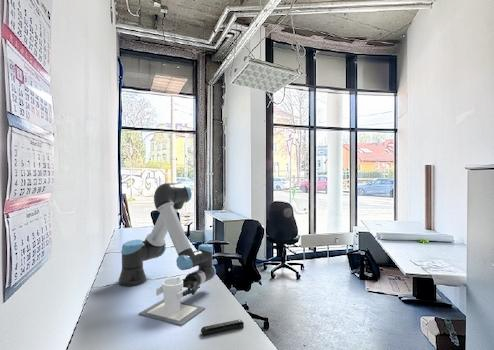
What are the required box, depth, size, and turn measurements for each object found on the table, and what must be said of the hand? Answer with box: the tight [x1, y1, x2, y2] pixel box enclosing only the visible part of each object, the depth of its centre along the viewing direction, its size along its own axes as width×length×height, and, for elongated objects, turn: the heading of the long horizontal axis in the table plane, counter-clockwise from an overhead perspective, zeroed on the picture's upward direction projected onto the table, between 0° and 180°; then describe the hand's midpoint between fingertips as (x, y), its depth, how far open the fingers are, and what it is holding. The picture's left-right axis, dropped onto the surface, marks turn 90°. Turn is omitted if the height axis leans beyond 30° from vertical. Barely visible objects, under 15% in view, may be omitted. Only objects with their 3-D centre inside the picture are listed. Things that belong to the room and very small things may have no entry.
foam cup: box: [161, 277, 184, 313], centre depth 147 cm, size 10×9×13 cm
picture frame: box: [138, 299, 206, 327], centre depth 147 cm, size 24×18×1 cm
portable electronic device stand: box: [200, 319, 245, 337], centre depth 130 cm, size 18×3×3 cm, turn 114°
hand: (167, 294), depth 143 cm, fingers open, 11 cm apart
